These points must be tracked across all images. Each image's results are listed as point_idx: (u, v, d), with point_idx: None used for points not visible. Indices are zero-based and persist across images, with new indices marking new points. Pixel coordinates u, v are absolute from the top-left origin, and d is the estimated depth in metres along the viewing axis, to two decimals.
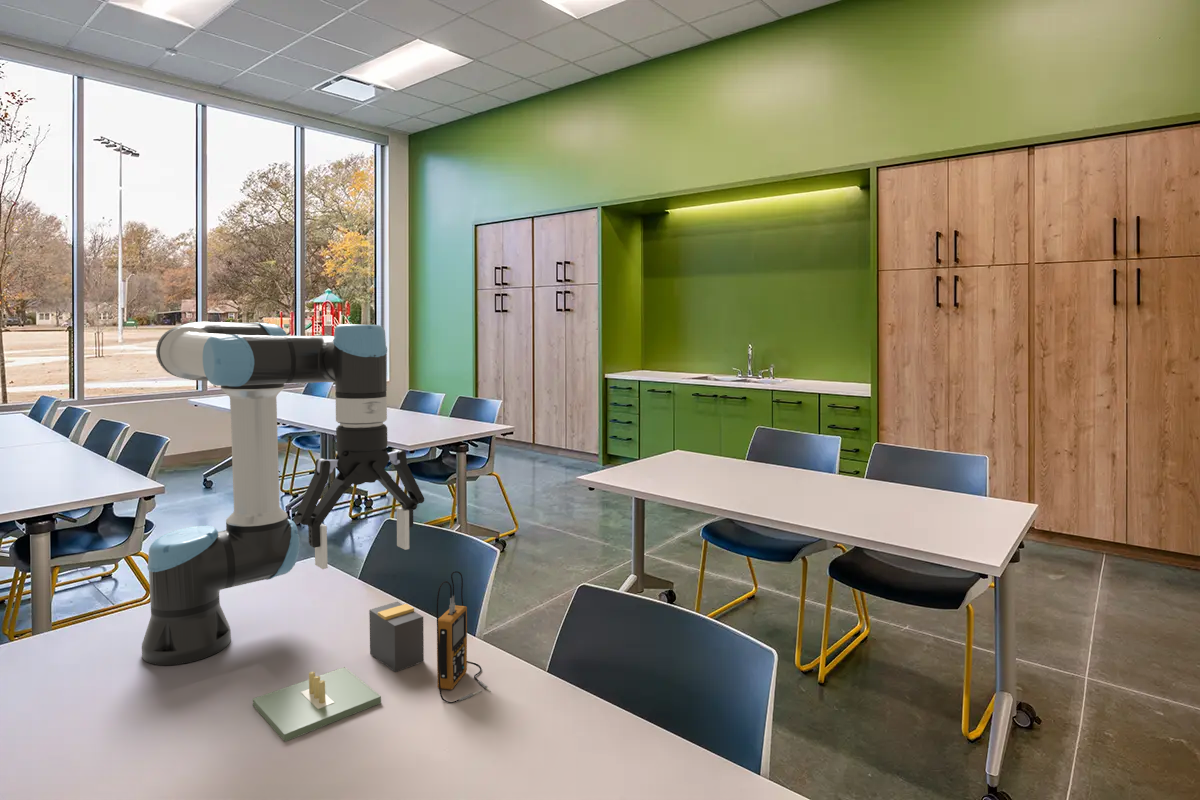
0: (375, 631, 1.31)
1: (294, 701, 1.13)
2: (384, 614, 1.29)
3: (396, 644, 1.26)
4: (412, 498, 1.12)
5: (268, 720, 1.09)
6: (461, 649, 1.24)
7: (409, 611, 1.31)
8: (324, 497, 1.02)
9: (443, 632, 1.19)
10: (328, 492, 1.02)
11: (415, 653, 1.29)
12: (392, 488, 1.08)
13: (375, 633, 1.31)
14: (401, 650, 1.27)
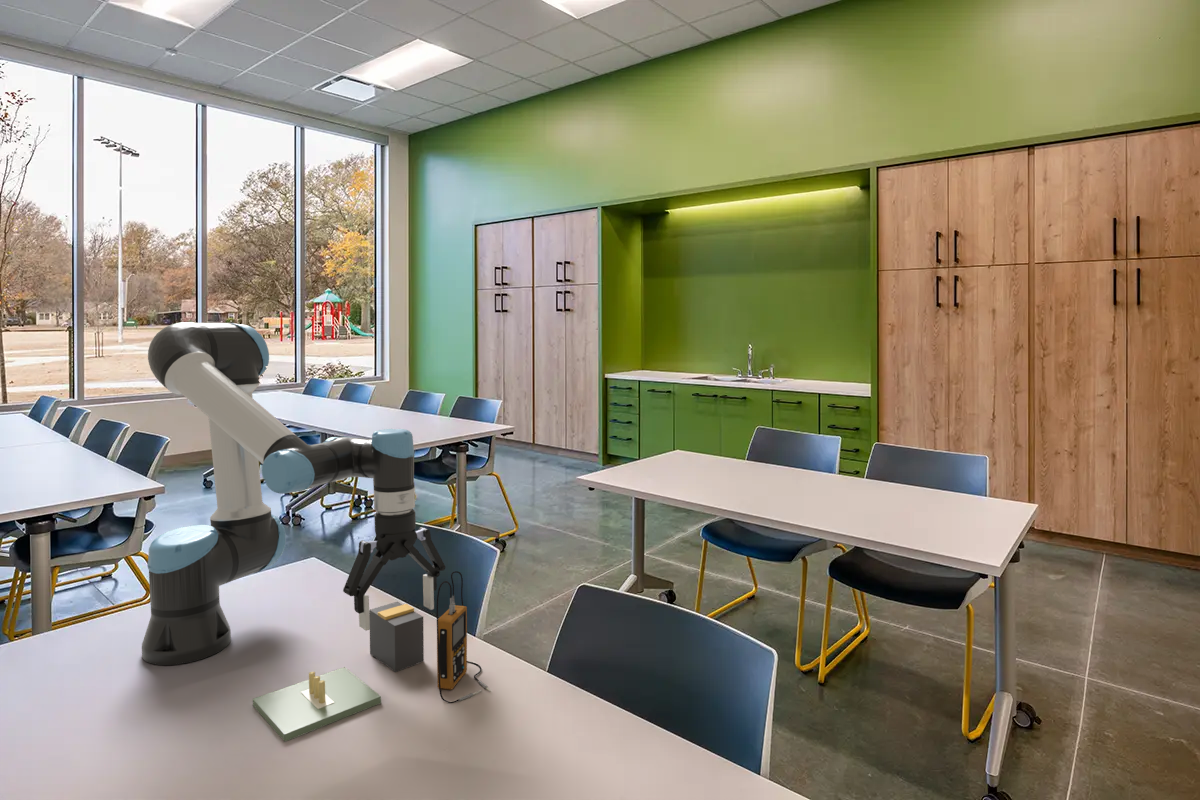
0: (375, 631, 1.31)
1: (294, 701, 1.13)
2: (384, 614, 1.29)
3: (396, 644, 1.26)
4: (435, 566, 1.36)
5: (268, 720, 1.09)
6: (461, 649, 1.24)
7: (409, 611, 1.31)
8: (366, 571, 1.26)
9: (443, 632, 1.19)
10: (369, 567, 1.27)
11: (415, 653, 1.29)
12: (419, 560, 1.32)
13: (375, 633, 1.31)
14: (401, 650, 1.27)
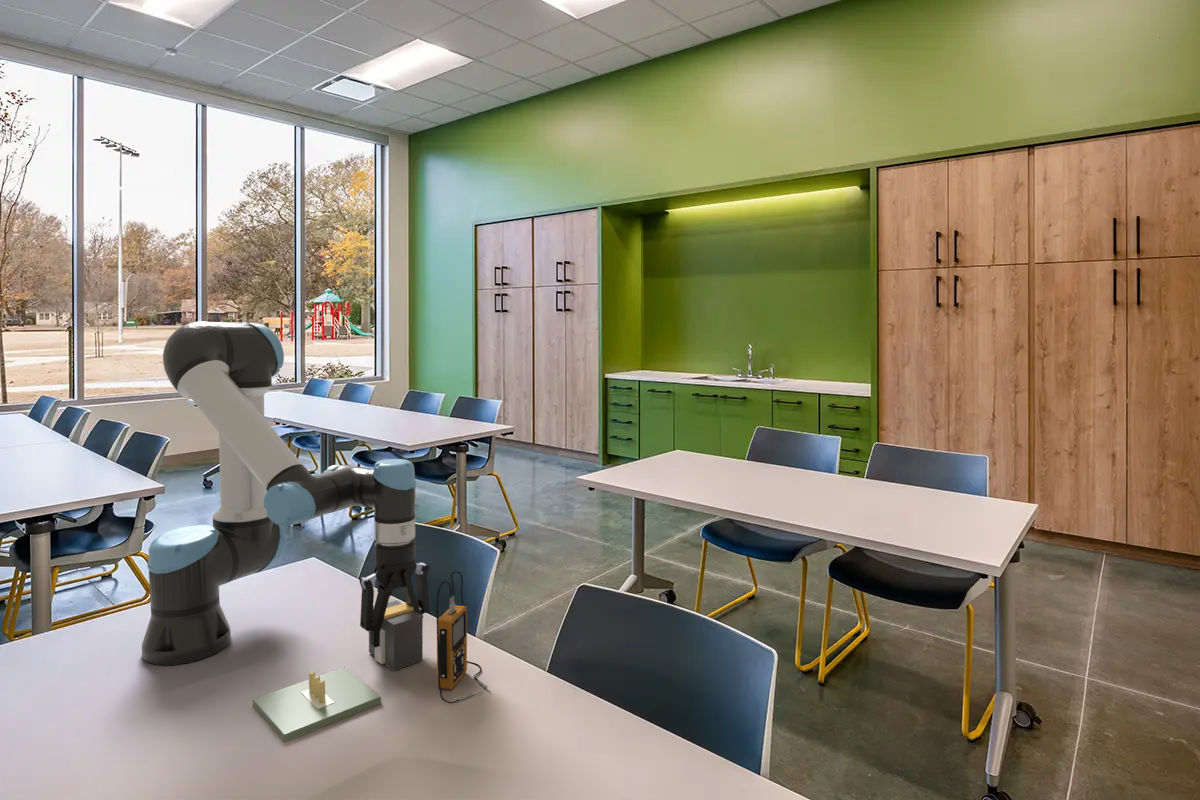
0: None
1: (294, 701, 1.13)
2: None
3: (395, 643, 1.26)
4: (419, 609, 1.34)
5: (268, 720, 1.09)
6: (461, 649, 1.24)
7: (408, 610, 1.31)
8: (375, 606, 1.29)
9: (443, 632, 1.19)
10: (377, 601, 1.29)
11: (414, 652, 1.29)
12: (410, 596, 1.32)
13: None
14: (400, 649, 1.27)
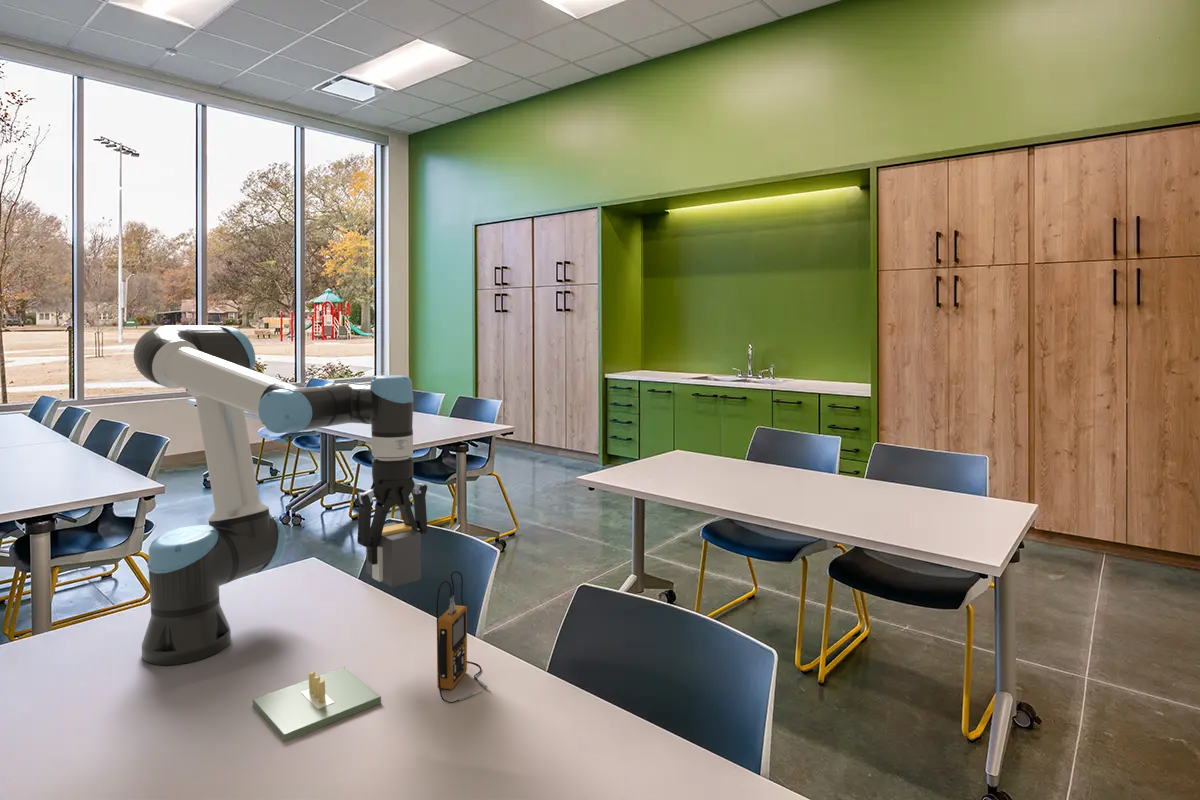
0: None
1: (294, 701, 1.13)
2: None
3: (393, 559, 1.24)
4: None
5: (268, 720, 1.09)
6: (461, 649, 1.24)
7: (406, 529, 1.30)
8: (373, 523, 1.27)
9: (443, 632, 1.19)
10: (374, 518, 1.27)
11: (413, 570, 1.27)
12: (408, 515, 1.30)
13: None
14: (398, 566, 1.25)
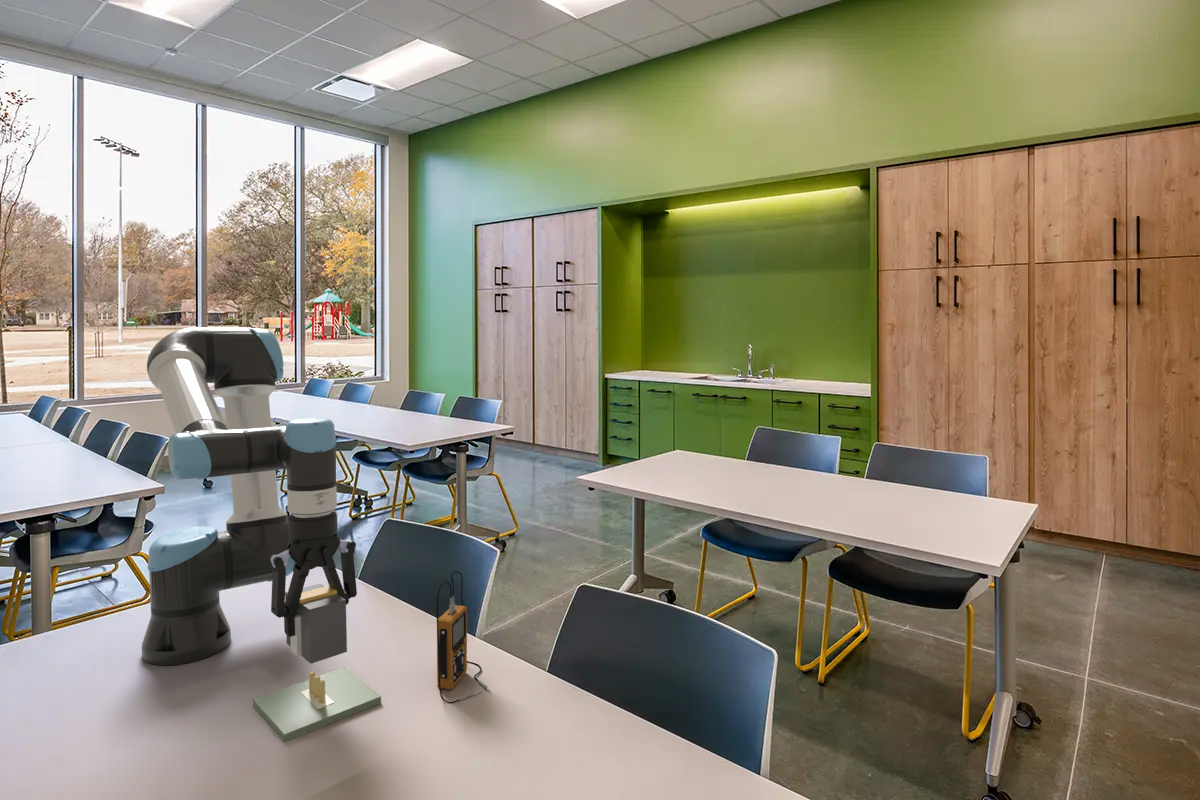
0: None
1: (294, 701, 1.13)
2: None
3: (312, 631, 1.08)
4: (345, 592, 1.16)
5: (268, 720, 1.09)
6: (461, 649, 1.24)
7: (331, 594, 1.13)
8: (290, 588, 1.10)
9: (443, 632, 1.19)
10: (292, 583, 1.11)
11: (336, 642, 1.11)
12: (332, 578, 1.14)
13: None
14: (318, 638, 1.09)
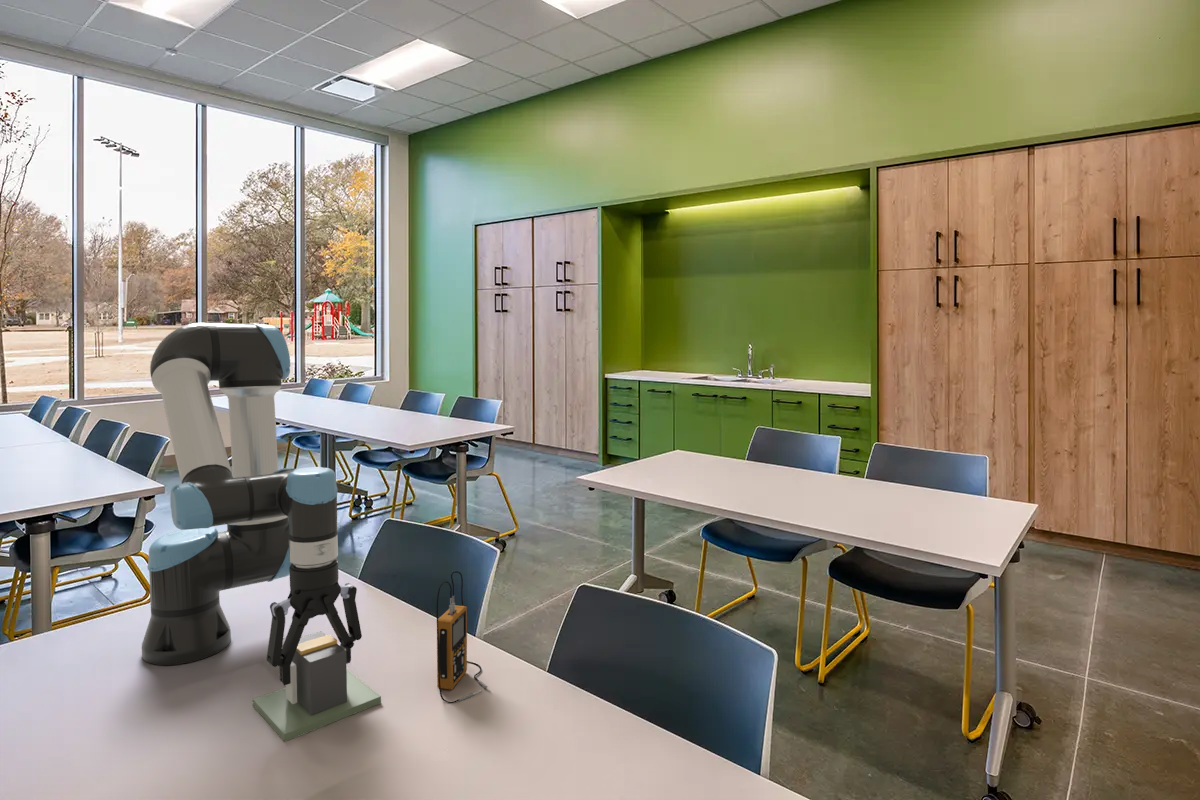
0: None
1: None
2: (300, 648, 1.12)
3: (312, 684, 1.09)
4: (350, 635, 1.18)
5: (268, 720, 1.09)
6: (461, 649, 1.24)
7: (331, 644, 1.14)
8: (288, 636, 1.11)
9: (443, 632, 1.19)
10: (290, 631, 1.11)
11: (337, 692, 1.12)
12: (335, 623, 1.15)
13: None
14: (318, 690, 1.10)
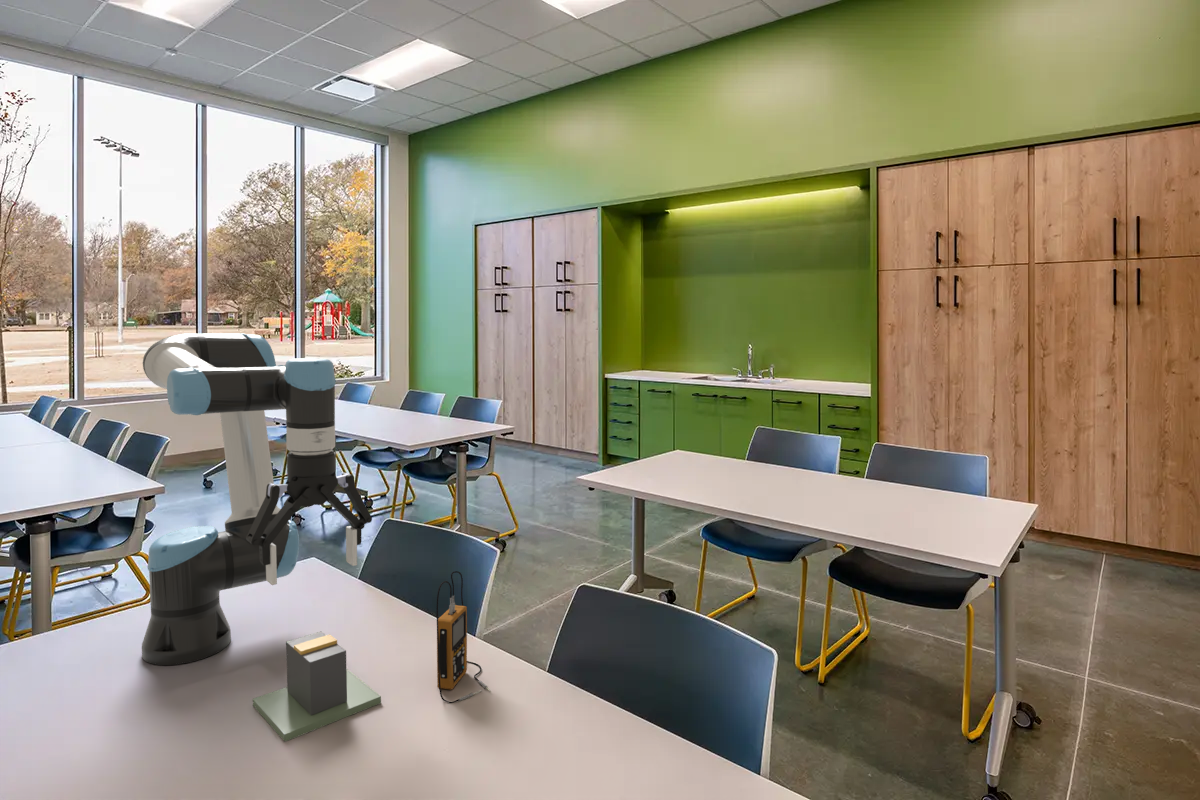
0: (292, 667, 1.14)
1: (294, 701, 1.13)
2: (300, 648, 1.12)
3: (312, 684, 1.09)
4: (360, 518, 1.20)
5: (268, 720, 1.09)
6: (461, 649, 1.24)
7: (331, 644, 1.14)
8: (275, 518, 1.11)
9: (443, 632, 1.19)
10: (278, 514, 1.11)
11: (337, 692, 1.12)
12: (340, 509, 1.17)
13: (292, 669, 1.14)
14: (318, 690, 1.10)
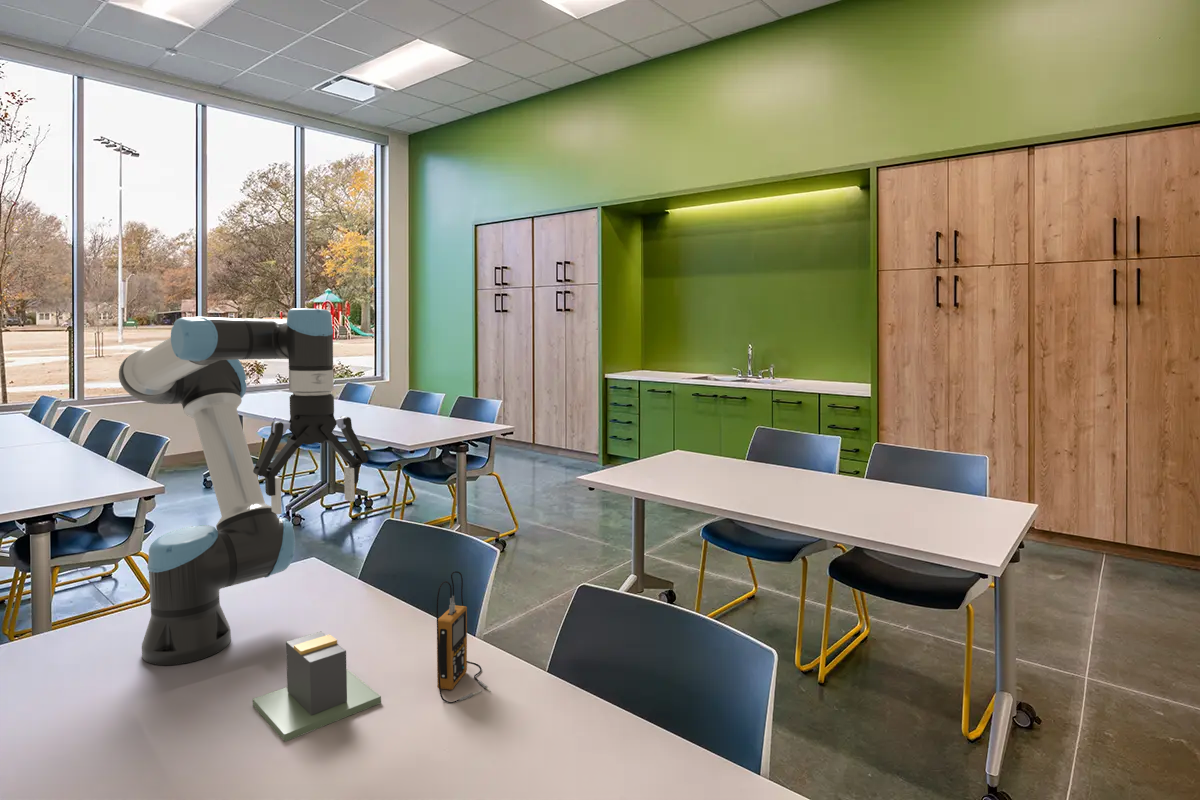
0: (292, 667, 1.14)
1: (294, 701, 1.13)
2: (300, 648, 1.12)
3: (312, 684, 1.09)
4: (357, 458, 1.31)
5: (268, 720, 1.09)
6: (461, 649, 1.24)
7: (331, 644, 1.14)
8: (279, 454, 1.21)
9: (443, 632, 1.19)
10: (282, 450, 1.22)
11: (337, 692, 1.12)
12: (339, 448, 1.27)
13: (292, 669, 1.14)
14: (318, 690, 1.10)
